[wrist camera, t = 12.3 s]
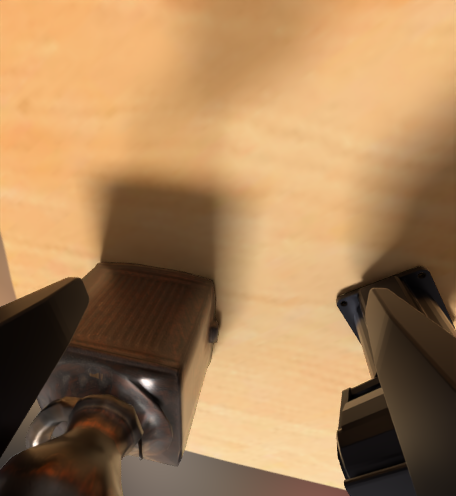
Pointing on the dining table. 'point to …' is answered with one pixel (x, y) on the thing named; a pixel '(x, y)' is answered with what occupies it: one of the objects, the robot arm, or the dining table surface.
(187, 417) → the brown coffee grinder
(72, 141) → the dining table surface
